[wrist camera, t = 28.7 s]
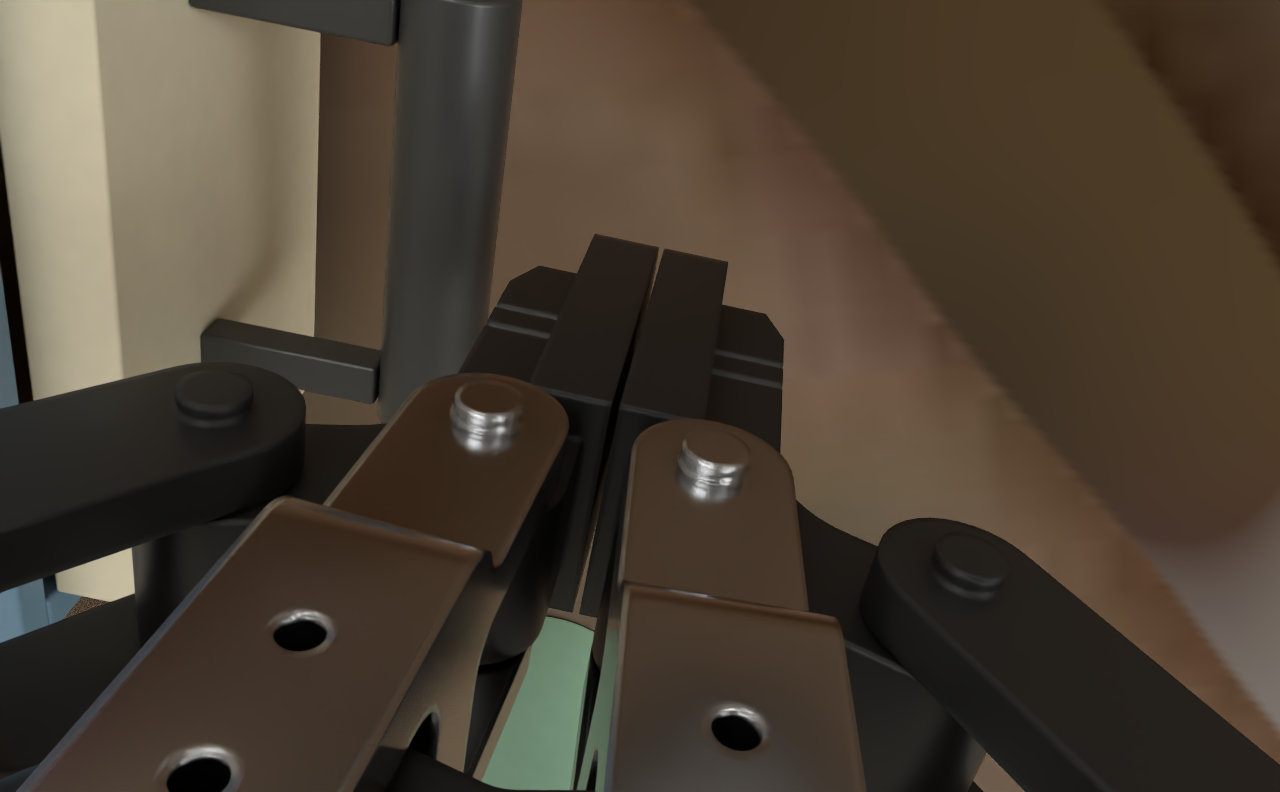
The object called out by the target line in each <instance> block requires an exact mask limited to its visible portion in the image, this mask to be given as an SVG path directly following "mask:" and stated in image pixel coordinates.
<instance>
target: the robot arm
mask: <svg viewBox="0 0 1280 792" xmlns="http://www.w3.org/2000/svg"><path fill="white" fill-rule="evenodd" d="M658 252H659V247H655V246H650V245H645V244H641V243H636V242H631V241H627V240H622V239H617V238H613V237H608V236H603V235H599V234H595V235H594V237H593V239H592V241H591V243H590V246H589V248H588V250H587V253H586V255H585V257H584V259H583V262H582V264H581V266H580V268H579V271H578V273H577V274H576V273H571V272H566V271H562V270H557V269H552V268H548V267H543V266H538V267H536V268H534V269H532V270H530V271H528V272H526V273H524V274H522V275H520V276H518V277H516V278H515V279H513V280H511V281H510V282H509V284H508V285H507V287H506V289H505V291H504V292H503V294H502V296H501V298H500V299H499V301H498V304H497V307H495V308H494V310H493V312H492V314H491V315H490V317H489V319H488V321H487V325H486V326H484V328H483V329H482V331H481V333H480V335H479V337H478V338H477V340H476V342H475V344H474V345H473V347H472V349H471V351H470V352H469V354H468V356H467V358H466V360H465V361H464V363H463V365H462V367H461V368H460V370H459V372H458V374H453V375H447V376H443V377H439V378H436V379H433V380H431V381H429V382H426V383H424V384H423V385H421V386H420V387H418V388H416V389H415V390H414V391H413V392H412V393H411V394H410V395H409V397H408V398H407V399H406V401H405V402H404V403H403V404H402V406H401V407H400V408H399V409H398V411H397V412H396V413H395V414H394V416H393V417H392V418H391V419H390V421H389V422H388V423H385V424H375V425H320V424H305V421H306V405H305V400H304V397H303V396H302V394H301V392H300V391H299V390H298V388H297V387H296V386H295V385H294V384H293V383H291V382H290V381H288V380H287V379H286V378H284V377H282V376H280V375H278V374H276V373H274V372H271V371H269V370H266V369H263V368H259V367H255V366H251V365H246V364H239V363H230V362H201V363H191V364H185V365H180V366H175V367H170V368H166V369H162V370H158V371H154V372H150V373H146V374H142V375H137V376H133V377H129V378H125V379H121V380H117V381H113V382H108V383H104V384H100V385H96V386H92V387H88V388H84V389H80V390H75V391H71V392H67V393H63V394H59V395H55V396H51V397H46V398H42V399H38V400H34V401H30V402H26V403H22V404H18V405H13V406H9V407H5V408H1V409H0V593H2V592H4V591H7V590H10V589H13V588H16V587H19V586H21V585H24V584H27V583H30V582H33V581H36V580H39V579H42V578H45V577H48V576H51V575H54V574H56V573H59V572H62V571H65V570H68V569H71V568H74V567H77V566H80V565H83V564H86V563H88V562H91V561H94V560H97V559H100V558H103V557H106V556H109V555H112V554H115V553H118V552H120V551H123V550H126V549H129V548H132V561H133V575H134V588H135V593H133V594H131V595H128V596H125V597H123V598H120V599H117V600H115V601H112V602H109V603H106V604H104V605H101V606H98V607H96V608H93V609H90V610H88V611H85V612H82V613H79V614H77V615H74V616H71V617H69V618H66V619H63V620H61V621H58V622H55V623H53V624H50V625H47V626H44V627H42V628H39V629H36V630H34V631H31V632H28V633H26V634H23V635H20V636H18V637H15V638H12V639H9V640H7V641H4V642H1V643H0V792H983V791H982V790H981V789H980V788H979V787H978V786H977V785H976V783H975V782H974V781H973V779H974V777H975V775H976V773H977V771H978V769H979V767H980V765H981V763H982V761H983V759H984V757H985V754H986V752H987V753H988V754H989V755H990V756H991V757H992V758H993V759H994V760H995V761H996V762H997V763H998V764H999V765H1000V766H1001V767H1002V768H1003V769H1004V770H1005V771H1006V772H1007V773H1008V774H1009V775H1010V776H1011V777H1012V778H1013V779H1014V780H1015V781H1016V783H1017V784H1018V785H1019V786H1020V787H1021V788H1022V789H1023V790H1024V791H1025V792H1280V765H1279V764H1278V763H1277V762H1275V761H1274V760H1273V759H1272V758H1271V757H1269V756H1268V755H1267V754H1266V753H1265V752H1263V751H1262V750H1261V749H1260V748H1259V747H1257V746H1256V745H1255V744H1254V743H1253V742H1251V741H1250V740H1249V739H1248V738H1246V737H1245V736H1244V735H1243V734H1242V733H1240V732H1239V731H1238V730H1237V729H1236V728H1234V727H1233V726H1232V725H1231V724H1230V723H1228V722H1227V721H1226V720H1225V719H1224V718H1222V717H1221V716H1220V715H1219V714H1217V713H1216V712H1215V711H1214V710H1213V709H1211V708H1210V707H1209V706H1208V705H1207V704H1205V703H1204V702H1203V701H1202V700H1201V699H1199V698H1198V697H1197V696H1196V695H1195V694H1193V693H1192V692H1191V691H1190V690H1188V689H1187V688H1186V687H1185V686H1184V685H1182V684H1181V683H1180V682H1179V681H1178V680H1176V679H1175V678H1174V677H1173V676H1172V675H1170V674H1169V673H1168V672H1167V671H1166V670H1164V669H1163V668H1162V667H1161V666H1159V665H1158V664H1157V663H1156V662H1155V661H1153V660H1152V659H1151V658H1150V657H1149V656H1147V655H1146V654H1145V653H1144V652H1143V651H1141V650H1140V649H1139V648H1138V647H1137V646H1135V645H1134V644H1133V643H1132V642H1130V641H1129V640H1128V639H1127V638H1126V637H1124V636H1123V635H1122V634H1121V633H1120V632H1118V631H1117V630H1116V629H1115V628H1114V627H1112V626H1111V625H1110V624H1109V623H1108V622H1106V621H1105V620H1104V619H1103V618H1101V617H1100V616H1099V615H1098V614H1097V613H1095V612H1094V611H1093V610H1092V609H1091V608H1089V607H1088V606H1087V605H1086V604H1085V603H1083V602H1082V601H1081V600H1080V599H1079V598H1077V597H1076V596H1075V595H1074V594H1072V593H1071V592H1070V591H1069V590H1068V589H1066V588H1065V587H1064V586H1063V585H1062V584H1060V583H1059V582H1058V581H1057V580H1056V579H1054V578H1053V577H1052V576H1051V575H1049V574H1048V573H1047V572H1046V571H1045V570H1043V569H1042V568H1041V567H1040V566H1039V565H1037V564H1036V563H1035V562H1034V561H1033V560H1031V559H1030V558H1029V557H1028V556H1027V555H1025V554H1024V553H1023V552H1021V551H1020V550H1019V549H1017V548H1016V547H1015V546H1013V545H1011V544H1010V543H1008V542H1006V541H1005V540H1003V539H1002V538H1000V537H998V536H996V535H994V534H992V533H989V532H987V531H985V530H982V529H980V528H977V527H975V526H972V525H968V524H965V523H961V522H958V521H952V520H947V519H938V518H917V519H911V520H906V521H903V522H901V523H898V524H896V525H894V526H893V527H891V528H889V529H888V530H887V531H886V533H885V534H884V535H883V536H882V539H881V541H880V543H879V546H875V545H873V544H871V543H868V542H866V541H864V540H861V539H859V538H857V537H855V536H852V535H850V534H848V533H845V532H843V531H841V530H839V529H837V528H835V527H833V526H831V525H829V524H828V523H826V522H824V521H823V520H821V519H819V518H818V517H816V516H815V515H814V514H812V513H811V512H810V511H808V510H807V509H806V508H805V507H804V506H803V505H802V504H800V503H799V502H798V501H797V500H796V496H795V487H794V479H793V475H792V471H791V469H790V467H789V465H788V463H787V461H786V460H785V459H784V458H783V456H782V455H781V454H780V445H781V414H782V384H783V369H782V367H783V353H784V339H783V337H782V336H781V335H780V333H779V332H778V330H777V329H776V328H775V326H774V325H773V323H772V322H771V321H770V319H769V318H768V316H767V315H766V314H763V313H758V312H754V311H749V310H744V309H740V308H735V307H730V306H726V305H722V300H723V293H724V287H725V280H726V273H727V267H728V262H726V261H721V260H716V259H712V258H707V257H702V256H698V255H693V254H688V253H684V252H679V251H674V250H670V249H664V252H663V255H662V259H661V262H660V266H659V269H658V273H657V276H656V280H655V283H654V287H653V290H652V294H651V289H652V284H653V279H654V274H655V269H656V264H657V258H658ZM650 294H651V297H650ZM649 300H650V301H649ZM596 523H597V525H596ZM595 527H596V530H595ZM594 531H595V535H594V541H593V546H592V551H591V556H590V561H589V566H588V572H587V577H586V582H585V587H584V592H583V597H582V603H581V608H580V613H579V614H582V615H587V616H591V617H596V618H597V622H596V627H595V632H594V637H593V643H592V647H591V652H590V657H589V661H588V666H587V671H586V676H585V681H584V686H583V693H582V701H581V708H580V716H579V723H578V731H577V739H576V746H575V754H574V761H573V769H572V777H571V784H570V790H513V789H503V788H499V787H494V786H492V785H489V784H486V783H484V782H482V779H483V777H484V774H485V772H486V770H487V767H488V765H489V762H490V760H491V758H492V755H493V753H494V750H495V748H496V746H497V743H498V741H499V738H500V736H501V734H502V731H503V729H504V726H505V724H506V722H507V719H508V717H509V714H510V712H511V710H512V707H513V705H514V702H515V700H516V698H517V695H518V693H519V690H520V688H521V686H522V683H523V681H524V679H525V676H526V674H527V670H528V667H529V662H530V656H531V650H532V644H533V643H534V641H535V640H536V639H537V637H538V636H539V634H540V632H541V630H542V627H543V624H544V620H545V617H546V614H547V611H548V607H549V608H553V609H558V610H563V611H567V612H573V608H574V604H575V601H576V597H577V593H578V590H579V586H580V582H581V579H582V575H583V571H584V568H585V564H586V560H587V557H588V553H589V549H590V545H591V542H592V538H593V534H594Z"/></svg>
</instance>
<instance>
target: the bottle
mask: <svg viewBox="0 0 1280 792" xmlns="http://www.w3.org/2000/svg"><path fill="white" fill-rule="evenodd" d="M593 637H594V632H593V631H591V630H589V629H587V628H585V627H583V626H580V625H578V624H575V623H572V622H569V621H566V620H562V619H558V618H553V617H545V620H544V624H543V627H542V630H541V632H540V634H539V636H538V637H537V639H536V640H535V641H534V643H533V644H532V650H531V656H530V662H529V667H528V670H527V674H526V676H525V679H524V681H523V683H522V686H521V688H520V690H519V693H518V695H517V698H516V700H515V702H514V705H513V707H512V710H511V712H510V714H509V717H508V719H507V722H506V724H505V726H504V729H503V731H502V734H501V736H500V738H499V741H498V743H497V746H496V748H495V750H494V753H493V755H492V758H491V760H490V762H489V765H488V767H487V770H486V772H485V774H484V777H483V779H482V782H484V783H486V784H489V785H492V786H494V787H499V788H503V789H513V790H570V784H571V777H572V769H573V761H574V754H575V746H576V739H577V731H578V723H579V716H580V708H581V701H582V693H583V686H584V681H585V676H586V671H587V666H588V661H589V657H590V652H591V647H592V643H593Z"/></svg>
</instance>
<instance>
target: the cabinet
mask: <svg viewBox="0 0 1280 792" xmlns="http://www.w3.org/2000/svg"><path fill="white" fill-rule="evenodd" d="M18 404H19V399H18V391H17V384H16V377H15V369H14V362H13V354H12V347H11V339H10V332H9V325H8V317H7V310H6V302H5V295H4V287H3V280H2V273H1V265H0V409H1V408H5V407H9V406H13V405H18ZM81 597H82V596H79V595H74V594H69V593H64V592H60V591H58V590H57V586H56V578H55V574H54V575H51V576H48V577H45V578H42V579H39V580H36V581H33V582H30V583H27V584H24V585H21V586H19V587H16V588H13V589H10V590H7V591H4V592H2V593H0V643H1V642H4V641H7V640H9V639H12V638H15V637H18V636H20V635H23V634H26V633H28V632H31V631H34V630H36V629H39V628H42V627H44V626H47V625H50V624H53V623H55V622H58V621H61V620H63V619H64V617H65V616H66V615H67V614H68V613H69V611H70V610H71V609H72V608H73V607H74V605H75V604H76V603H77V602H78V601H79V600H80V598H81Z"/></svg>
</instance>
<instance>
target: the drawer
mask: <svg viewBox="0 0 1280 792" xmlns="http://www.w3.org/2000/svg"><path fill="white" fill-rule="evenodd" d="M521 10H522V0H0V265H1V273H2V280H3V287H4V295H5V302H6V310H7V317H8V325H9V332H10V339H11V347H12V354H13V362H14V369H15V377H16V384H17V391H18V399H19V404H22V403H26V402H30V401H34V400H38V399H42V398H46V397H51V396H55V395H59V394H63V393H67V392H71V391H75V390H80V389H84V388H88V387H92V386H96V385H100V384H104V383H108V382H113V381H117V380H121V379H125V378H129V377H133V376H137V375H142V374H146V373H150V372H154V371H158V370H162V369H166V368H170V367H175V366H180V365H185V364H191V363H201V362H230V363H239V364H246V365H251V366H255V367H259V368H263V369H266V370H269V371H271V372H274V373H276V374H278V375H280V376H282V377H284V378H286V379H287V380H288V381H290V382H291V383H293V384H294V385H295V386H296V387H297V388H298V390H299V391H300V392H301V394H303V392H304V391H309V392H314V393H319V394H324V395H329V396H334V397H339V398H344V399H349V400H354V401H358V402H363V403H368V404H372V403H374V402H375V401H376V399H377V397H378V396H379V397H378V417H379V419H380V421H381V423H382V424H385V423H388V422H389V421H390V419H391V418H392V417H393V416H394V414H395V413H396V412H397V411H398V409H399V408H400V407H401V406H402V404H403V403H404V402H405V401H406V399H407V398H408V397H409V395H410V394H411V393H412V392H413V391H414V390H415V389H416V388H418V387H420V386H421V385H423V384H424V383H426V382H429V381H431V380H433V379H436V378H439V377H443V376H447V375H453V374H458V372H459V370H460V368H461V367H462V365H463V363H464V361H465V360H466V358H467V356H468V354H469V352H470V351H471V349H472V347H473V345H474V344H475V342H476V340H477V338H478V337H479V335H480V333H481V331H482V329H483V328H484V326H486V325H487V320H488V311H489V302H490V293H491V284H492V275H493V266H494V256H495V247H496V238H497V229H498V220H499V211H500V202H501V193H502V183H503V174H504V165H505V156H506V147H507V138H508V129H509V119H510V110H511V101H512V92H513V83H514V74H515V65H516V55H517V46H518V37H519V28H520V19H521ZM321 33H324V34H329V35H334V36H339V37H344V38H349V39H354V40H359V41H364V42H369V43H374V44H379V45H384V46H393V45H395V44H396V43H397V42H398V58H397V76H396V94H395V112H394V130H393V147H392V165H391V183H390V201H389V219H388V236H387V254H386V272H385V290H384V308H383V325H382V343H381V350H377V349H372V348H367V347H362V346H357V345H352V344H347V343H342V342H337V341H332V340H327V339H322V338H317V337H314V319H315V272H316V226H317V179H318V132H319V85H320V39H321ZM55 578H56V586H57V590H58V591H60V592H64V593H69V594H74V595H79V596H84V597H89V598H93V599H98V600H103V601H108V602H112V601H115V600H117V599H120V598H123V597H125V596H128V595H131V594H133V593H135V588H134V575H133V561H132V548H129V549H126V550H123V551H120V552H118V553H115V554H112V555H109V556H106V557H103V558H100V559H97V560H94V561H91V562H88V563H86V564H83V565H80V566H77V567H74V568H71V569H68V570H65V571H62V572H59V573H56V574H55Z"/></svg>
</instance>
